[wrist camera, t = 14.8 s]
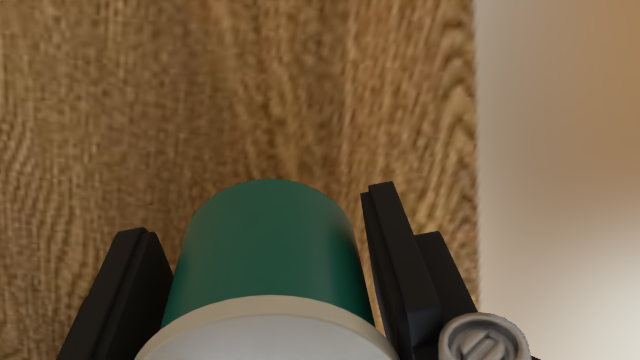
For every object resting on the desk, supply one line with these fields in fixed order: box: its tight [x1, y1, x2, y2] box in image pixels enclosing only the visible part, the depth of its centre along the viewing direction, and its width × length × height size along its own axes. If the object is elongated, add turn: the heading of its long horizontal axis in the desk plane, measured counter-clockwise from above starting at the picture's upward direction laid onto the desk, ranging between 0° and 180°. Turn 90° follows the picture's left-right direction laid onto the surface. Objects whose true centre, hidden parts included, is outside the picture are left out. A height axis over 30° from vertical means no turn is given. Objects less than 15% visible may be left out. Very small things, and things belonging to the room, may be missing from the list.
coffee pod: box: [134, 179, 400, 360], centre depth 10 cm, size 5×5×4 cm
